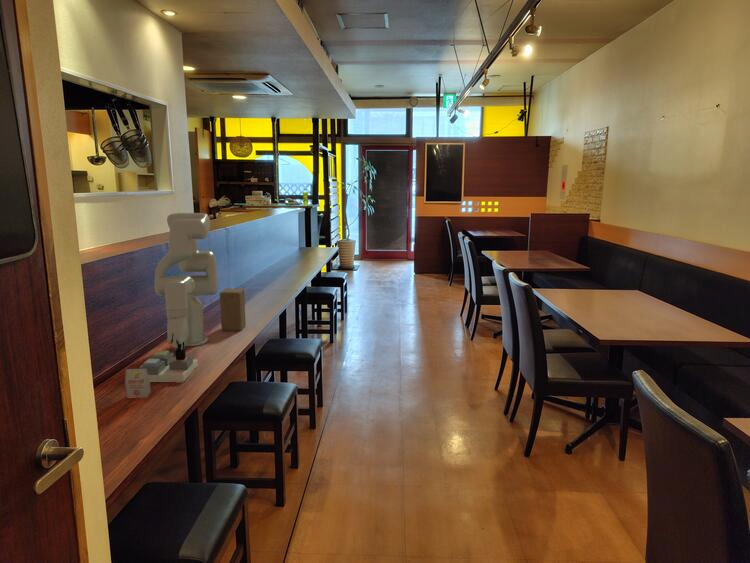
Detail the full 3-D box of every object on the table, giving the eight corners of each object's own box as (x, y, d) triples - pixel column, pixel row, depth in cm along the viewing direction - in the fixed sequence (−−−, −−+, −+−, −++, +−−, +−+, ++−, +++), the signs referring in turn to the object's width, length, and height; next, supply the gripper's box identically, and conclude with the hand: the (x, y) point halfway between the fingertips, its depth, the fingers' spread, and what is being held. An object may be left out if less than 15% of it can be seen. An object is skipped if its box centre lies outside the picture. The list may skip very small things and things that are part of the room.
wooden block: (241, 331, 239) (239, 292, 235) (221, 331, 239) (218, 292, 235) (246, 325, 249) (244, 288, 245) (227, 325, 249) (224, 288, 245)
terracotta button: (177, 363, 185) (177, 357, 185) (188, 362, 186) (188, 357, 185) (173, 367, 181) (173, 361, 181) (185, 366, 181) (184, 360, 181)
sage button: (158, 356, 189) (158, 350, 189) (169, 356, 189) (169, 350, 189) (154, 360, 185) (153, 354, 185) (165, 360, 185) (164, 354, 185)
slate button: (149, 364, 180) (148, 358, 180) (160, 364, 181) (159, 358, 180) (144, 369, 176) (143, 362, 176) (155, 368, 176) (155, 362, 176)
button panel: (157, 366, 191) (156, 352, 190) (198, 366, 192) (197, 352, 191) (139, 382, 176) (138, 367, 175) (184, 382, 176) (182, 367, 175)
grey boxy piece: (130, 394, 166) (127, 367, 164) (150, 393, 167) (148, 366, 165) (126, 399, 163) (123, 371, 161) (146, 398, 163) (144, 370, 161)
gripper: (174, 307, 186) (178, 352, 190) (159, 317, 172) (163, 366, 175) (194, 307, 187) (197, 352, 190) (180, 317, 172) (184, 366, 176)
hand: (180, 359), depth 183 cm, fingers closed
